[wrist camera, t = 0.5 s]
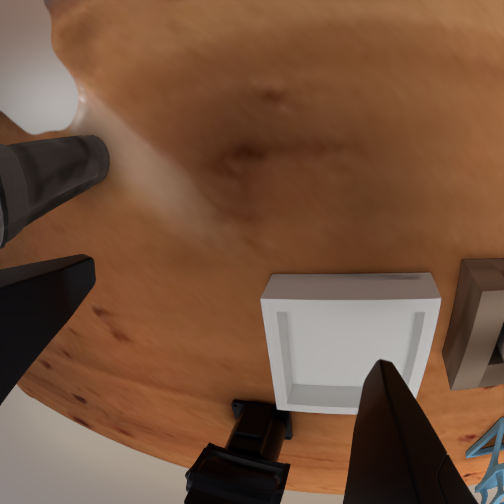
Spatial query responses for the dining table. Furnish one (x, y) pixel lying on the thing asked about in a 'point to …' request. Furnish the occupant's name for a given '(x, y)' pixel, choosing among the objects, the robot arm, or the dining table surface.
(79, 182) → the beverage cup
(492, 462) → the chair
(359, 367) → the tray
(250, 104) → the dining table surface
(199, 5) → the dining table surface
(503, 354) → the lock pin
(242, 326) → the dining table surface
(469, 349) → the block
